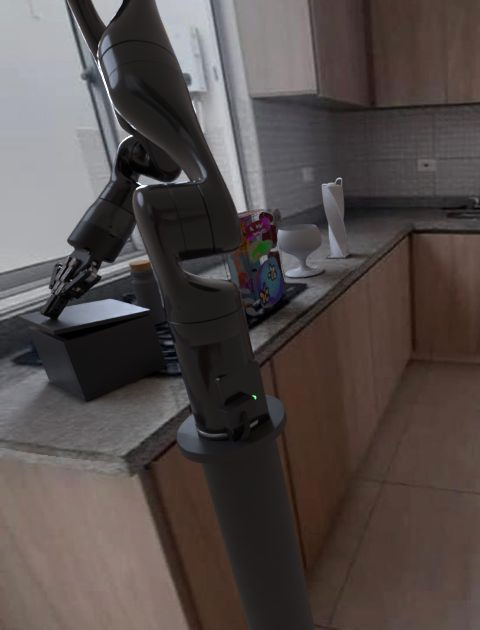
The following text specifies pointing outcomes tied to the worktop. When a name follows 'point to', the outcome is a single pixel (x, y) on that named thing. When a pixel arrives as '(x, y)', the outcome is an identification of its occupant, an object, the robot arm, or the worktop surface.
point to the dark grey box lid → (84, 316)
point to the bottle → (147, 289)
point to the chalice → (300, 246)
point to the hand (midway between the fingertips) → (47, 316)
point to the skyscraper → (335, 220)
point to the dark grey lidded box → (100, 355)
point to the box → (258, 261)
